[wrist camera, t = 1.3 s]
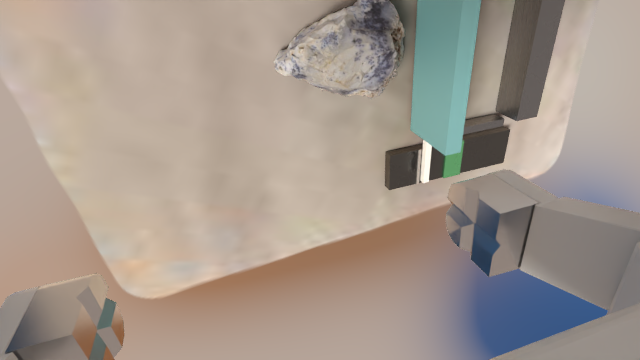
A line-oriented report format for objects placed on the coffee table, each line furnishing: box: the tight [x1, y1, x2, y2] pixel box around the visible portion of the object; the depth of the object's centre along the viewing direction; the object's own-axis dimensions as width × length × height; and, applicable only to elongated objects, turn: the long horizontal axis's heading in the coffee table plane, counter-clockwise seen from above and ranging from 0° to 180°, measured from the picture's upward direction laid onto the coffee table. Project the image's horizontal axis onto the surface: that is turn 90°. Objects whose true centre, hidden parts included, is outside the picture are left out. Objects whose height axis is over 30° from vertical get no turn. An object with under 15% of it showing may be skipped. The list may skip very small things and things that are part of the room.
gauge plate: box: [411, 0, 481, 183], centre depth 31 cm, size 23×2×6 cm, turn 5°
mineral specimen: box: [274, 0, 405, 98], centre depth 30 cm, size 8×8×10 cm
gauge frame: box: [385, 0, 565, 190], centre depth 33 cm, size 25×15×3 cm, turn 5°
